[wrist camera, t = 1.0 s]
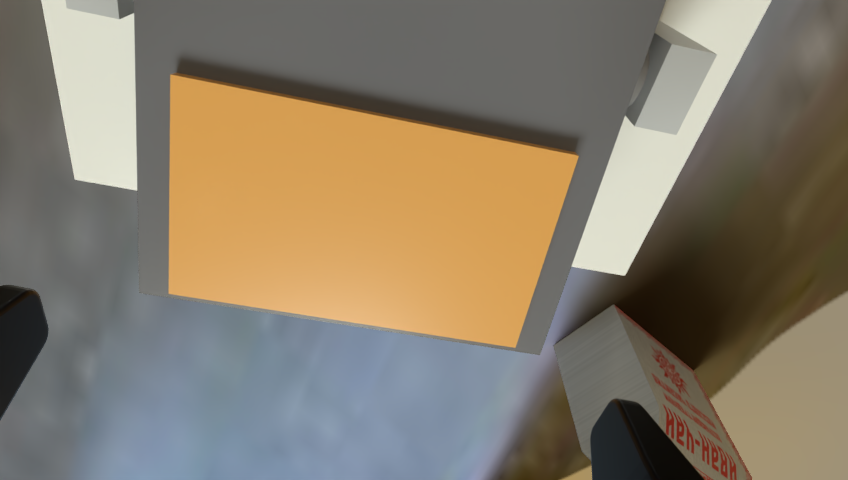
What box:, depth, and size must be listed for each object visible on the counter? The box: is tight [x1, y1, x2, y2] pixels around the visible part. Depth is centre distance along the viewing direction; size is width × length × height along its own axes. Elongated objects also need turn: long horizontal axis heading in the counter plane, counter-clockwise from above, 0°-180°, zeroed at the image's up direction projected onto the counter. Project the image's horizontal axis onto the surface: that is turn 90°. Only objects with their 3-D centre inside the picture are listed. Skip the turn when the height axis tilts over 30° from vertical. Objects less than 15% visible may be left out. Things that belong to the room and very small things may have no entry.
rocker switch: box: [133, 0, 666, 355], centre depth 11 cm, size 14×10×2 cm
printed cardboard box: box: [554, 304, 752, 480], centre depth 23 cm, size 4×7×10 cm, turn 48°
